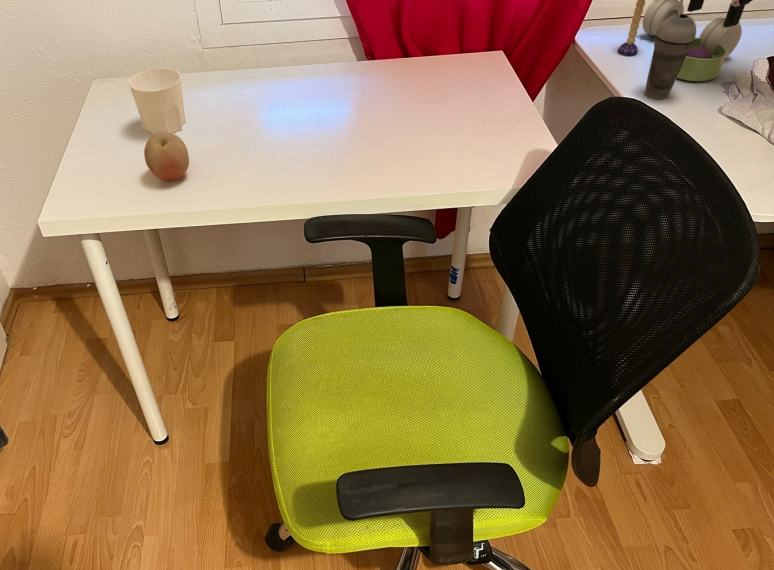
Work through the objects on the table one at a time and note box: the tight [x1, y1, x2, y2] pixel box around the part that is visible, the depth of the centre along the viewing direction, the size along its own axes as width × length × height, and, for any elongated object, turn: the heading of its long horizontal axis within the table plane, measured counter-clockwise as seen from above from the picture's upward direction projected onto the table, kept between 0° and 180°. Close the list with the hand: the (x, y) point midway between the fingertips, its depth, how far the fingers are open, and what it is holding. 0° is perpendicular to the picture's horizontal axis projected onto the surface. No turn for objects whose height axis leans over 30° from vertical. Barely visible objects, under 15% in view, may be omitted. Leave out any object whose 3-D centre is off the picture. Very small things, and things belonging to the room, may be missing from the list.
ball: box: [686, 46, 711, 59], centre depth 144 cm, size 5×5×5 cm
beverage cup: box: [644, 0, 697, 100], centre depth 133 cm, size 7×7×20 cm
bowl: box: [676, 37, 727, 82], centre depth 144 cm, size 11×11×5 cm
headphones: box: [642, 0, 743, 59], centre depth 147 cm, size 20×8×19 cm, turn 28°
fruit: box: [143, 132, 190, 182], centre depth 124 cm, size 8×8×8 cm
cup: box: [128, 67, 187, 136], centre depth 137 cm, size 10×10×10 cm
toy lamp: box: [617, 0, 646, 57], centre depth 148 cm, size 5×5×17 cm
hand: (711, 17), depth 138 cm, fingers open, 9 cm apart
